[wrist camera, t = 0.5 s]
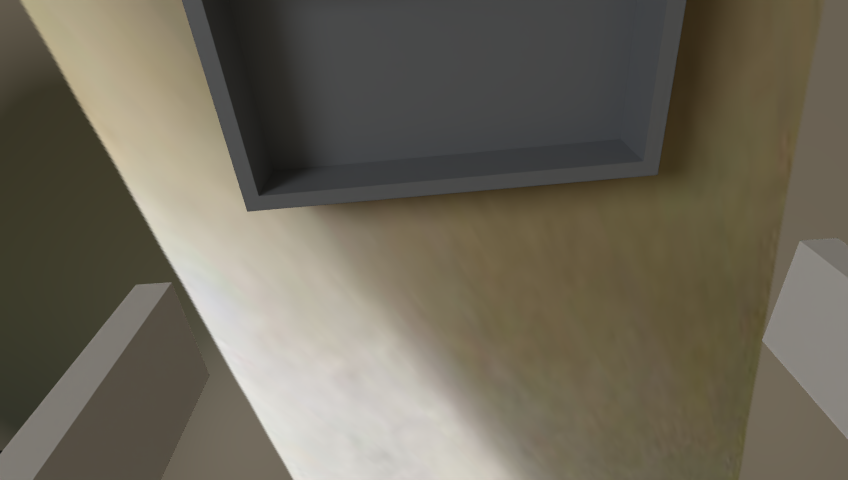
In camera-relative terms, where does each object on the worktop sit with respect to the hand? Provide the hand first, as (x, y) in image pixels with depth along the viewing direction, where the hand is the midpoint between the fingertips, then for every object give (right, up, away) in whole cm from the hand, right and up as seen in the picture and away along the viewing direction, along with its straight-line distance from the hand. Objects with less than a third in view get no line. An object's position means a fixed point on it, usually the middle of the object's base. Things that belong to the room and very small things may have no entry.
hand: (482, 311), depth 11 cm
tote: (0, +13, +21) cm, 25 cm away
